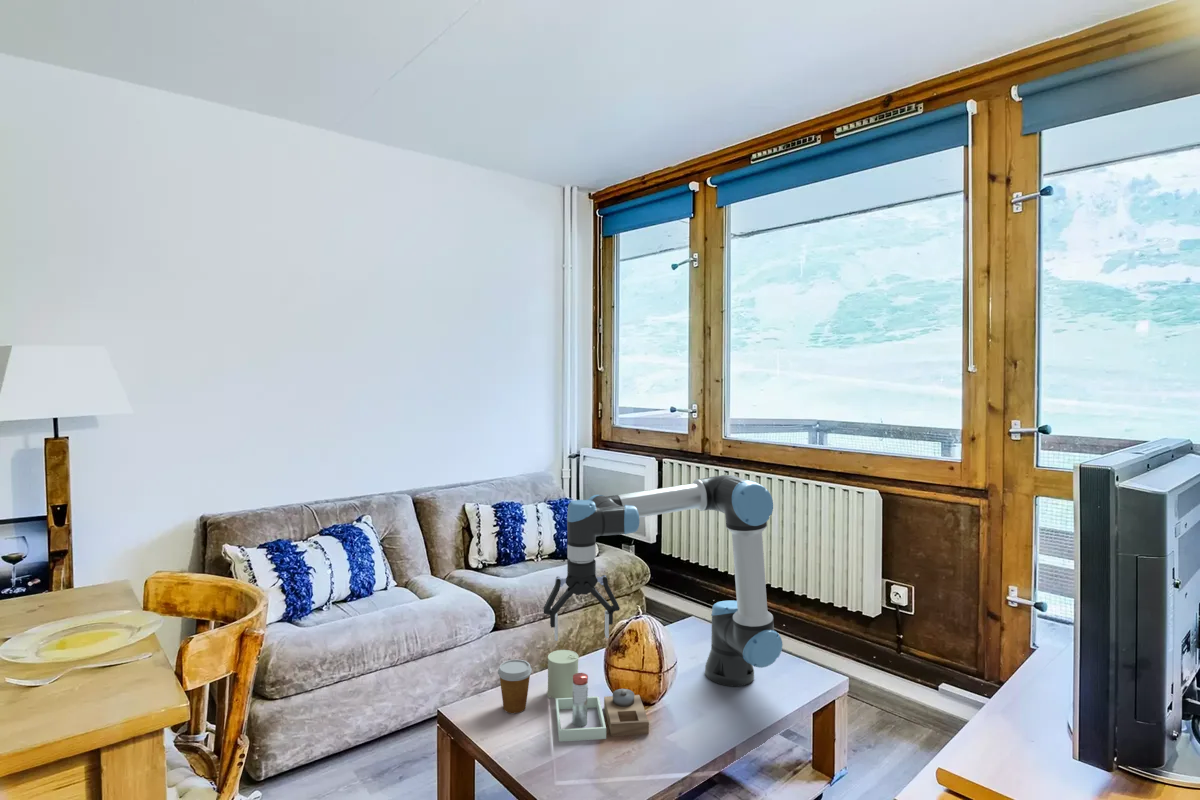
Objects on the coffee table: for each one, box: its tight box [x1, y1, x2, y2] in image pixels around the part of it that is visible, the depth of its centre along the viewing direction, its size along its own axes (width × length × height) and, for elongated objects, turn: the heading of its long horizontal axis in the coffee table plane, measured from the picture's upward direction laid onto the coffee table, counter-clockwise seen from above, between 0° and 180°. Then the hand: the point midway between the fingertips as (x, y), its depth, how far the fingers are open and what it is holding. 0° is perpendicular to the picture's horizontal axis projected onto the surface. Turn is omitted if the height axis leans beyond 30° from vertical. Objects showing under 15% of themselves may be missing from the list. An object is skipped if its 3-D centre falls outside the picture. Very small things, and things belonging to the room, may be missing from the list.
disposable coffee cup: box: [497, 658, 533, 714], centre depth 182 cm, size 10×10×12 cm
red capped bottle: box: [571, 672, 589, 728], centre depth 174 cm, size 4×4×13 cm
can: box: [546, 649, 580, 700], centre depth 190 cm, size 9×9×12 cm
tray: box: [555, 695, 607, 742], centre depth 174 cm, size 16×12×4 cm
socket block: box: [603, 688, 650, 737], centre depth 175 cm, size 14×10×7 cm
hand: (581, 637), depth 173 cm, fingers open, 13 cm apart
